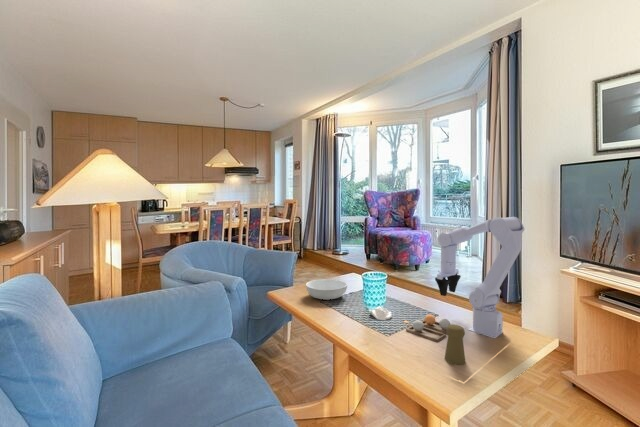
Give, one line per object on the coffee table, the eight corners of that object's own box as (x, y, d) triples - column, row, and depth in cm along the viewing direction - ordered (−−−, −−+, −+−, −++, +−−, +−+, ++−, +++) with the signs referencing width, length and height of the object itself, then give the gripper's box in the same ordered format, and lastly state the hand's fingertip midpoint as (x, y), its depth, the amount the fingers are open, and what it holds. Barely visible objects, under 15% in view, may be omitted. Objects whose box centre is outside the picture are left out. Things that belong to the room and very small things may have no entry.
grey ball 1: (426, 331, 120) (426, 320, 119) (420, 334, 117) (420, 323, 117) (416, 328, 123) (416, 317, 122) (410, 330, 120) (410, 320, 120)
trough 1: (445, 337, 115) (446, 334, 115) (437, 343, 111) (437, 339, 111) (415, 327, 124) (415, 324, 124) (406, 331, 120) (406, 328, 120)
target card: (423, 325, 126) (423, 324, 126) (416, 329, 122) (416, 328, 122) (405, 319, 132) (405, 318, 132) (398, 323, 128) (398, 322, 128)
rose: (364, 307, 135) (375, 301, 142) (364, 318, 135) (375, 311, 143) (386, 312, 129) (396, 305, 136) (386, 323, 129) (396, 315, 137)
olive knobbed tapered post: (440, 356, 101) (441, 322, 101) (459, 355, 102) (459, 321, 101) (450, 366, 95) (450, 330, 95) (469, 365, 96) (470, 329, 95)
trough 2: (457, 330, 121) (457, 327, 120) (449, 335, 116) (449, 332, 116) (426, 321, 130) (426, 318, 130) (418, 325, 126) (418, 322, 126)
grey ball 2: (452, 329, 121) (452, 319, 120) (447, 332, 118) (447, 322, 118) (442, 326, 124) (442, 316, 123) (437, 329, 121) (437, 319, 121)
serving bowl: (354, 295, 166) (354, 281, 165) (334, 307, 148) (334, 292, 148) (320, 289, 177) (320, 276, 176) (297, 299, 159) (297, 285, 159)
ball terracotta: (437, 325, 125) (437, 315, 125) (431, 327, 123) (431, 317, 122) (428, 322, 128) (428, 312, 128) (422, 324, 126) (422, 314, 125)
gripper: (447, 257, 141) (447, 288, 142) (430, 262, 132) (429, 295, 132) (463, 259, 136) (463, 291, 137) (446, 264, 126) (446, 299, 127)
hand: (447, 293), depth 134 cm, fingers open, 7 cm apart
